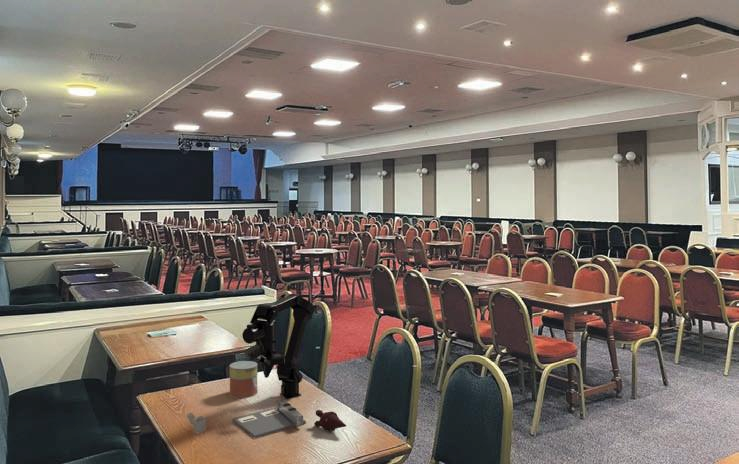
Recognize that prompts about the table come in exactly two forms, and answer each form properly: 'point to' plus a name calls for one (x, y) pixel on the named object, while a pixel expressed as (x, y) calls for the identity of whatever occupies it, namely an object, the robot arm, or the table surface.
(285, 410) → the cable arm
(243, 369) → the canned food
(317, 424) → the icecream
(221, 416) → the table surface
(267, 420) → the equipment panel
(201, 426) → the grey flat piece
